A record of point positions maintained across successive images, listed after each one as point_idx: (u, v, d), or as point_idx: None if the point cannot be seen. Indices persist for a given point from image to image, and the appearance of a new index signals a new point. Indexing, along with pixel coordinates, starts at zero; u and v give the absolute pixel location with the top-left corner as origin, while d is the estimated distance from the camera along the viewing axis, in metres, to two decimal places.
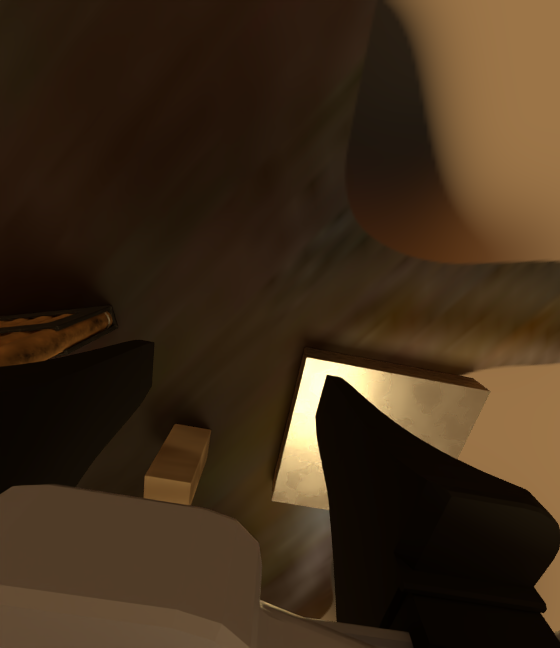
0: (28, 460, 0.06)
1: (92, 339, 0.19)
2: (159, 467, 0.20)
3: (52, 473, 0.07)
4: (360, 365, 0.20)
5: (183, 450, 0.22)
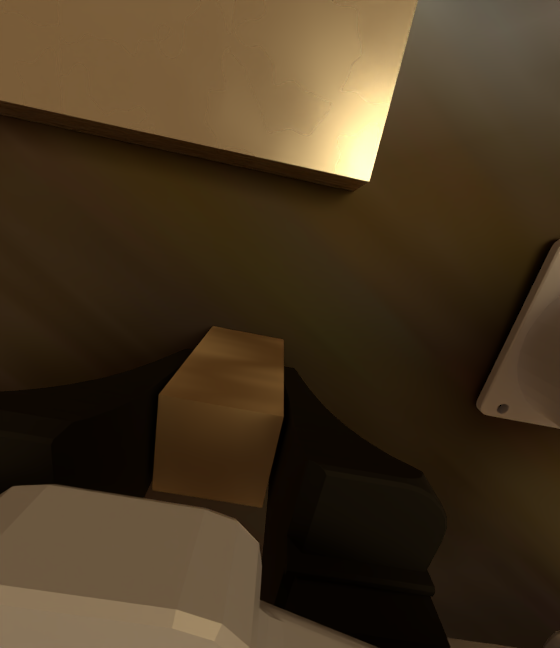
0: (119, 475, 0.06)
1: None
2: None
3: (132, 486, 0.07)
4: None
5: None
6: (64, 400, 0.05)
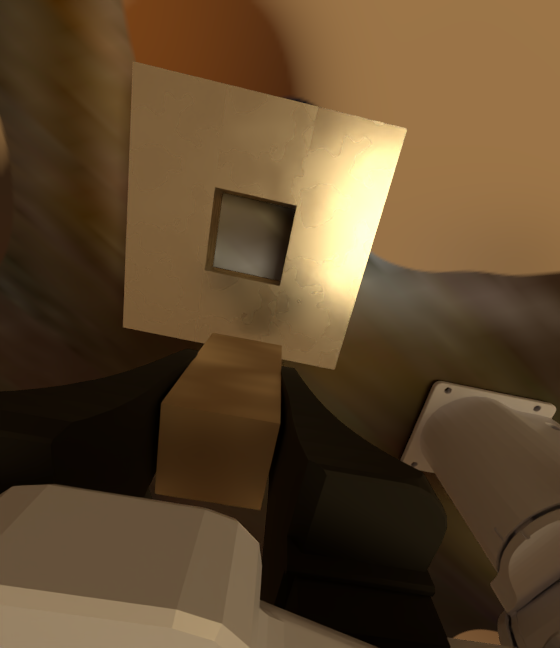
0: (119, 475, 0.06)
1: None
2: None
3: (131, 486, 0.07)
4: None
5: None
6: (64, 400, 0.05)
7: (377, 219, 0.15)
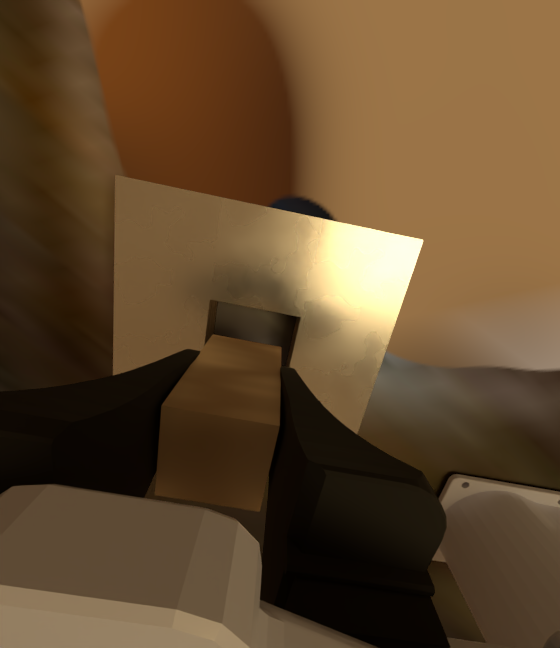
0: (119, 475, 0.06)
1: None
2: None
3: (132, 486, 0.07)
4: None
5: None
6: (64, 400, 0.05)
7: (390, 330, 0.14)
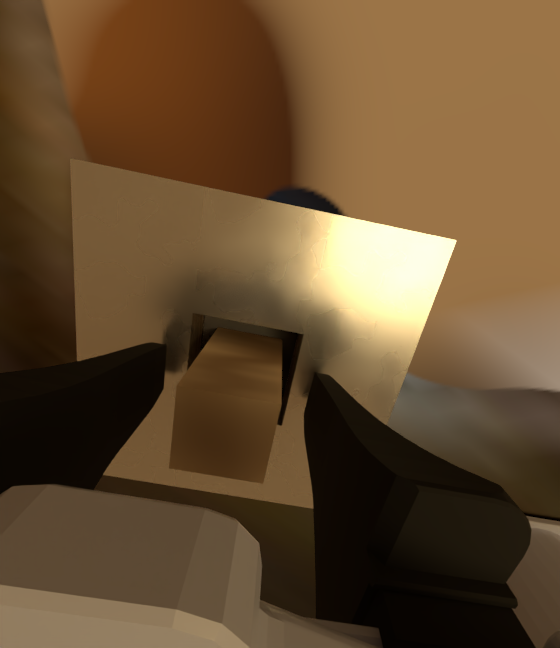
0: (52, 464, 0.06)
1: None
2: None
3: (73, 476, 0.07)
4: None
5: None
6: None
7: (412, 349, 0.11)
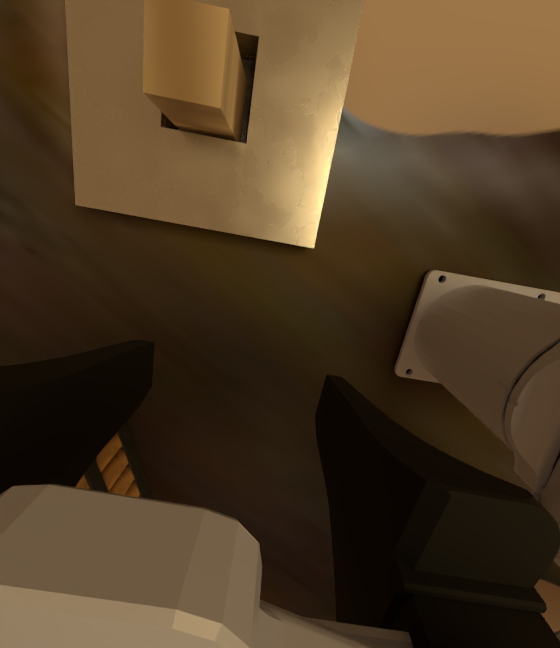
0: (28, 460, 0.06)
1: None
2: None
3: (52, 473, 0.07)
4: None
5: None
6: None
7: (351, 50, 0.14)
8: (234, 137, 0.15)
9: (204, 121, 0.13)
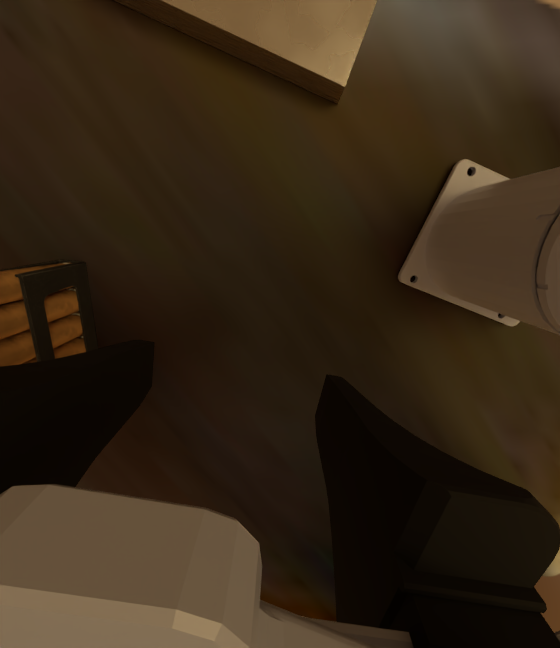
0: (28, 460, 0.06)
1: (52, 268, 0.17)
2: None
3: (52, 473, 0.07)
4: None
5: None
6: None
7: None
8: None
9: None
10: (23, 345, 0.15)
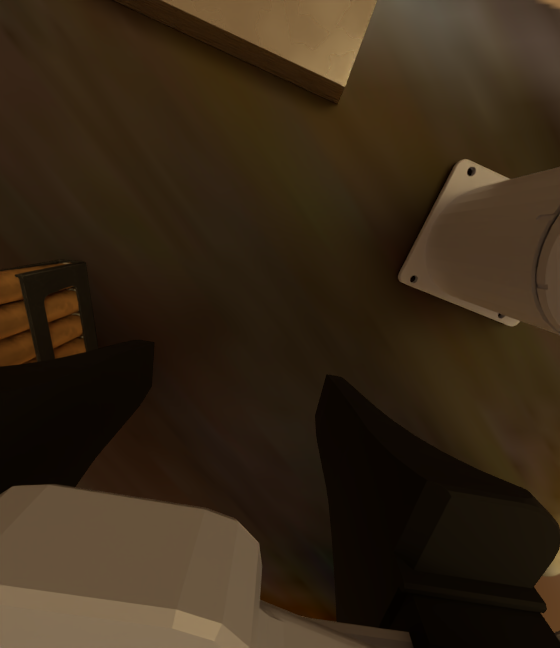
0: (28, 460, 0.06)
1: (52, 268, 0.17)
2: None
3: (52, 473, 0.07)
4: None
5: None
6: None
7: None
8: None
9: None
10: (23, 345, 0.15)
